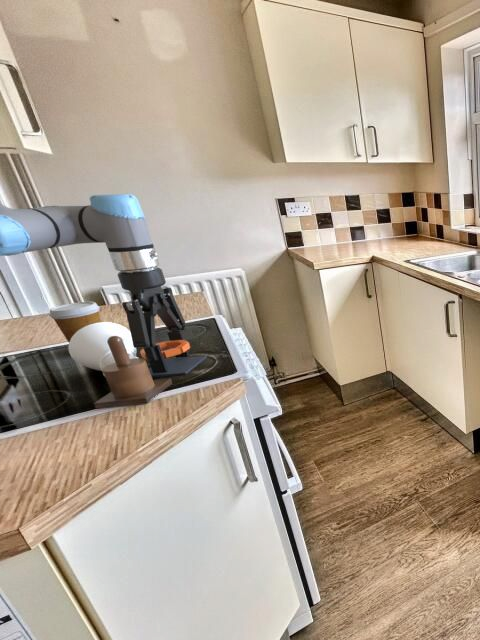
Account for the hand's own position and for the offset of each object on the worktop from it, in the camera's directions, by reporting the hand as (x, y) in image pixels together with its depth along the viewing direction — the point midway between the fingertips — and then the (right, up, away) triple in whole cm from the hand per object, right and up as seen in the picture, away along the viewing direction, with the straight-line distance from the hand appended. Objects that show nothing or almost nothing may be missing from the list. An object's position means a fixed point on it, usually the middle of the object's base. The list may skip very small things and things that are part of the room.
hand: (172, 364), depth 100 cm
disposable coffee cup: (-33, +3, +14) cm, 36 cm away
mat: (0, -1, 0) cm, 1 cm away
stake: (+3, -6, -12) cm, 14 cm away
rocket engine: (-10, -3, -4) cm, 11 cm away
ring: (0, +3, -1) cm, 3 cm away
